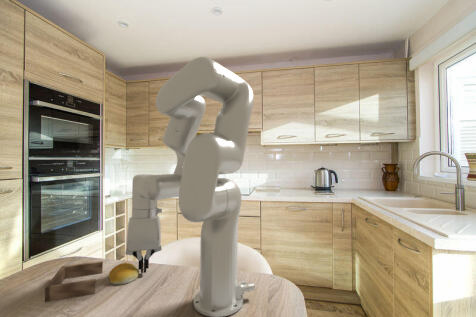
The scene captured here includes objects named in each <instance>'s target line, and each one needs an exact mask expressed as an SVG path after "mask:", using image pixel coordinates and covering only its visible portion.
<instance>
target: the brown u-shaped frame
mask: <svg viewBox="0 0 476 317" xmlns="http://www.w3.org/2000/svg"><path fill="white" fill-rule="evenodd" d="M103 267H104V264H103V260H99V261H94V262H93V261H92V262H84V263H83V262H82V263H76V264H75V263H74V264H69V265H68V264H67V265H62V266H61V267H60V268H59V269H58V271H57V272H56V273H55V274H54V276H52V278H51V280H49V282H48V284H47V285H46V286H45V288H44V303H48V302H54V301H59V300H65V299H69V298H76V297H83V296H89V295H95V294H96V283H97V282H96V278H93V279H86V280H79V281H74V282H71V281H70V282H66V283H65V282H64V281H65V280H66V279H70V278H78V277H83V276H84V277H85V276H92V275H97V274H103V272H104V271H103ZM63 282H64V283H63Z"/></svg>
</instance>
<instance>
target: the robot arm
mask: <svg viewBox="0 0 476 317" xmlns="http://www.w3.org/2000/svg"><path fill="white" fill-rule="evenodd" d="M204 97H205V98H208V99H211V100H213V101H215V102H217V103H220V104H222V105H223V106H221V108H220V109H219V111H218V113H217V116H216V118H215V124H214V130H213V133H211V132H205V133H200V134H198V132H199V129H200V126H201V123H202V120H203V118H204V114H205V112H206V109H207V105H206V100H205V98H204ZM254 101H255V96H254V92H253V90H252V87H251V86H250V84H249V83H248V82H247V81H246V80H245V79H244V78H242V77H240V76H239V75H238V74H236V73H235V72H233V71H231V70H230V69H229V68H226V67H224V66H223V65H221V64H220V63H219V62H217V61H215V60H213V59H212V58H210V57H207V56H200V57H196V58H194V59H192V60H191V61H189V62H188V63H186V64H185V65H184V66H183V67H182V68H181V69H179V70H178V71H177V72H176V73H175V74H173V75H172V76H170V78H169V79H167V81H166V82H165V83H164V84H162V86H161V87H160V89H159V90H158V92H157V95H156V99H155V107H156V109H157V111H158V113H160V114H161V115H163V116H166V117H169V119H168V123H167V126H166V129H165V131H164V134H163V137H162V142H163V144H164V145H165V146H166V147H168V148H169V149H171V150H172V151H174V152H175V155H176V159H177V162H176V166H175V169H174V171H173V173H167V174H166V173H165V174H147V173H146V174H136V175H134V176H133V178H132V184H131V185H132V186H131V187H132V192H131V194H132V195H131V197H132V198H131V200H132V201H131V216H130V217H129V219H128V223H127V230H126V241H125V242H126V246H125V247H126V249H125V252H124V253H125V255H127V256H133V257H134V258H135V259H137V261H138V267H137V269H138V270H139V271H140V274H143V273H145V274H146V273H147V269H149V262H150V258H151V257H152V256H153V255H154V254H155V253H158V252H161V251H162V250H163V248H162V244H161V243H162V231H161V230H162V229H161V228H162V227H161V218H160V216H159V215H158V214H160V213H161V214H162V211H163V209H162V208H159V207H158V201H161V200H165V199H172V198H174V199H175V198H178V207H179V212H180V213H181V215H182V217H184V219H186V221H189V222H190V223H202V226H201V229H200V230H201V231H200V250H199V252H200V256H199V257H200V258H199V260H200V261H199V265H200V267H199V291H197V293H196V294H195V295H194V297H193V307H194V309H195V310H196V312H198V313H199V314H201V315H203V316H206V317H227V316H231V315H233V314H235V313H237V312H238V311H239V310H241V308H242V307H243V304H244V296H243V295H244V293H247V292H248V293H250V292H253V291H255V290H256V288H255V283H254V282H249V283H247V281H246V280H245V279H244V280H240V281H238V251H239V250H238V248H239V247H238V245H239V244H238V242H239V239H238V238H239V221H240V219H239V218H240V213H241V207H242V192H241V190H240V187H239V186H238V184H237V183H236V182H235V181H233V180H231V179H230V178H225V177H219V176H220V175H227V174H228V175H229V174H234V173H235V172H236V173H237V171H239V170H240V169H241V167H242V166H243V161H244V157H245V153H246V152H245V151H246V144H247V140H248V134H249V128H250V121H251V118H252V117H251V116H252V112H253V108H254ZM142 251H145V255H144V256H143V255H142Z"/></svg>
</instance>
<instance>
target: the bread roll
mask: <svg viewBox="0 0 476 317" xmlns="http://www.w3.org/2000/svg"><path fill="white" fill-rule="evenodd" d="M139 275H140V270H138V267H136V265H134V264H133V263H129V262H122V263H119V264H117V265H115V266H114V267H113V268H112V269H111V270H110V271H109V273H108V278H109V280H110V283H111V284H112V285H117V286H118V285H126V284H129V283H132V282H133V281H135V280H136V279H138V277H139Z"/></svg>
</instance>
